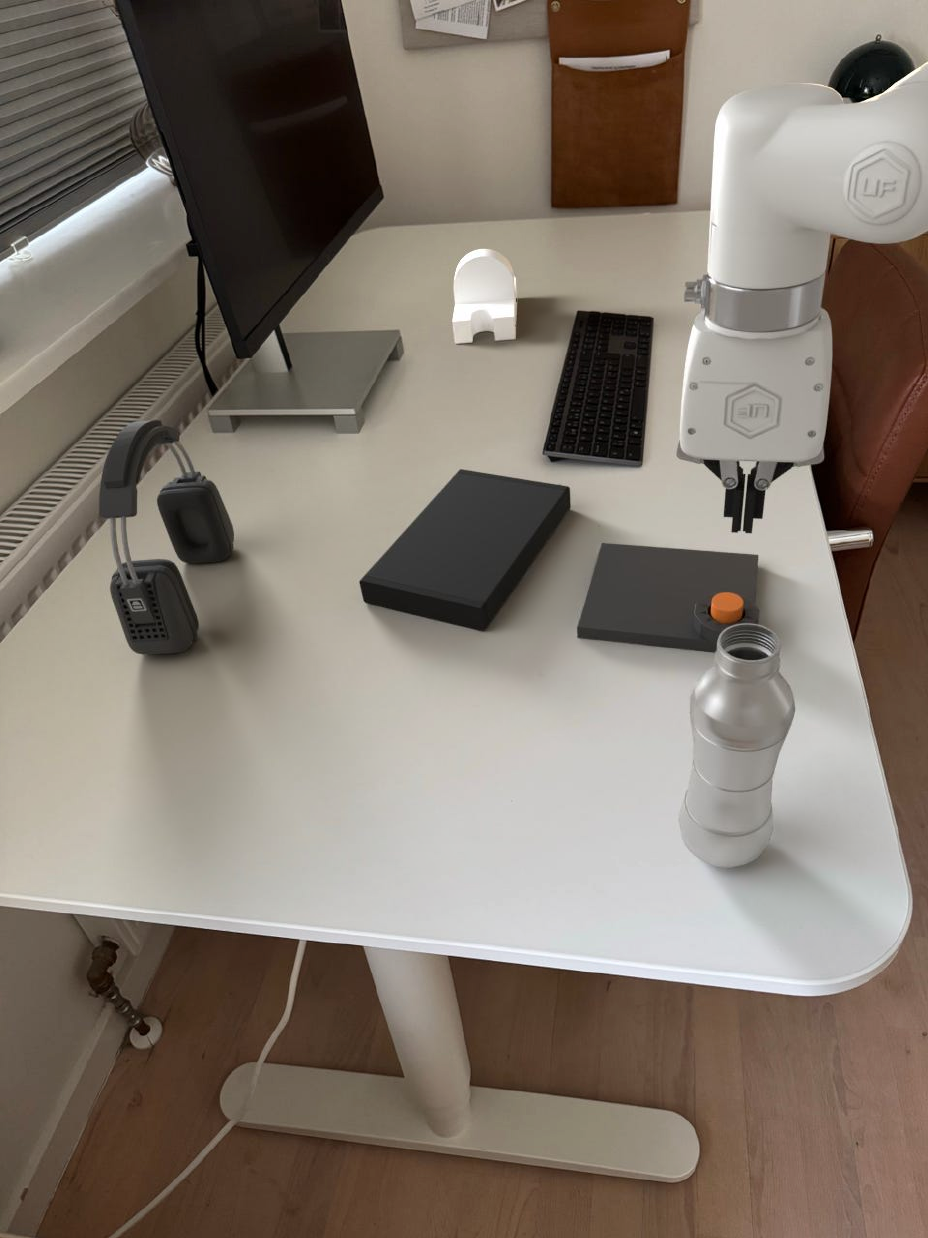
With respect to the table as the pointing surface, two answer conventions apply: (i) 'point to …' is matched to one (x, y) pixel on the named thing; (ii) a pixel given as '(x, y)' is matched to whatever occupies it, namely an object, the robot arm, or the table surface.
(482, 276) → the block with arch cutout
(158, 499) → the headphones
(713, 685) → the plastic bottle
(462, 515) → the external hard drive
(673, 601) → the scale
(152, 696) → the table surface
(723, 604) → the button
